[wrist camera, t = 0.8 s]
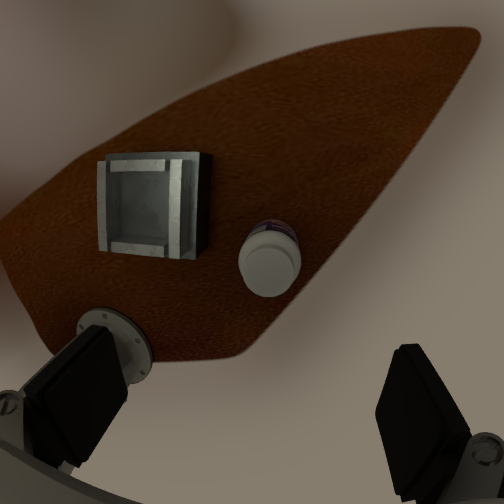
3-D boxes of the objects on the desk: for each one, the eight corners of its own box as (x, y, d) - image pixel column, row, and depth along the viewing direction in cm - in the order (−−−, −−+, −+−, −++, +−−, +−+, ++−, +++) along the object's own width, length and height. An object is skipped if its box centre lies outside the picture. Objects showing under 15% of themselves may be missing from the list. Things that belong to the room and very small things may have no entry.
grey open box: (208, 246, 33) (187, 268, 26) (128, 239, 34) (93, 257, 26) (212, 154, 30) (191, 150, 23) (128, 155, 31) (91, 153, 24)
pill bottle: (308, 246, 32) (318, 277, 22) (270, 276, 33) (264, 318, 24) (274, 207, 31) (271, 224, 22) (237, 240, 32) (218, 269, 23)
